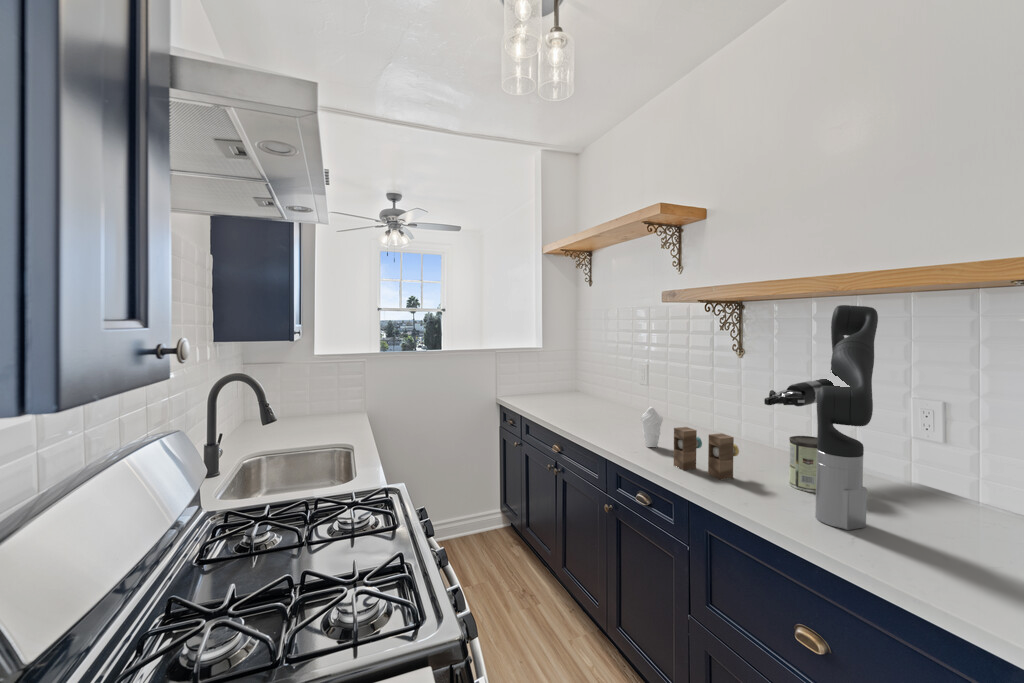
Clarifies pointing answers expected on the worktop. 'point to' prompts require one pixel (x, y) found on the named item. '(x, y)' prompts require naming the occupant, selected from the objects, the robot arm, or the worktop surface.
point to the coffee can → (803, 463)
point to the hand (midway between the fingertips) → (766, 401)
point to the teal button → (698, 443)
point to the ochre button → (735, 451)
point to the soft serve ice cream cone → (651, 427)
